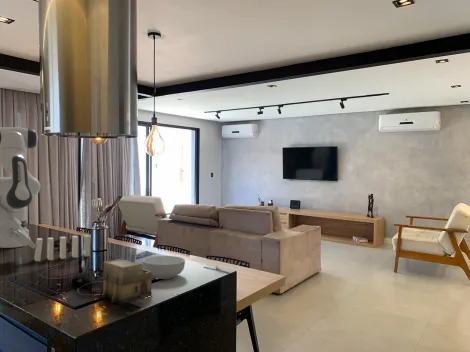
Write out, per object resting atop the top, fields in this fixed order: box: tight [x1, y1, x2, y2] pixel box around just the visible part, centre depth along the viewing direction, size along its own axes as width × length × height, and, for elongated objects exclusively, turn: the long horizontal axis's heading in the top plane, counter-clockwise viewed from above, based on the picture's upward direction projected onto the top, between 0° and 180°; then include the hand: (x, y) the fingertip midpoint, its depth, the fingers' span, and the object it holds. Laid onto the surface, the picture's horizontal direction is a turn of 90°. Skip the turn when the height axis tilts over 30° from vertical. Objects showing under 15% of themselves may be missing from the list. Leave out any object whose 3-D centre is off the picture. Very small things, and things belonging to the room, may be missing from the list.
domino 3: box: [59, 236, 67, 260], centre depth 175 cm, size 2×5×10 cm, turn 34°
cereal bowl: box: [142, 255, 186, 280], centre depth 143 cm, size 17×17×7 cm
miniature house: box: [100, 257, 154, 304], centre depth 120 cm, size 15×14×11 cm
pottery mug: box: [53, 237, 72, 253], centre depth 193 cm, size 12×9×8 cm
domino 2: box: [46, 237, 55, 261], centre depth 172 cm, size 2×5×10 cm, turn 34°
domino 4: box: [71, 235, 79, 259], centre depth 178 cm, size 2×5×10 cm, turn 34°
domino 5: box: [82, 234, 91, 258], centre depth 181 cm, size 2×5×10 cm, turn 34°
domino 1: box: [33, 237, 44, 262], centre depth 169 cm, size 2×5×10 cm, turn 34°
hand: (34, 247), depth 168 cm, fingers closed
